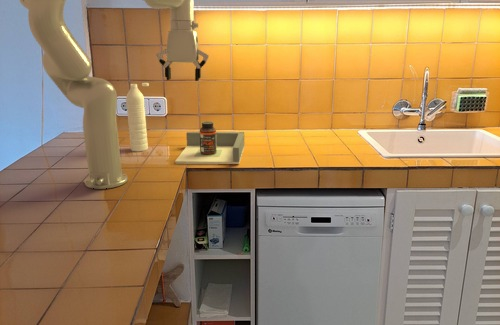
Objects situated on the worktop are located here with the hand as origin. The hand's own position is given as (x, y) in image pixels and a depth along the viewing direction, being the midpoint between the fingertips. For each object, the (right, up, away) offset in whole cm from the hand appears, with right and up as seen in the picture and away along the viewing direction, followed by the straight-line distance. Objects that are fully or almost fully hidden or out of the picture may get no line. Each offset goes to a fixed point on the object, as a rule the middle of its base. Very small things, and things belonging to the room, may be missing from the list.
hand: (182, 80), depth 150 cm
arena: (+8, -25, +14) cm, 30 cm away
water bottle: (-19, -23, +23) cm, 37 cm away
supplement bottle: (+7, -24, +13) cm, 28 cm away
